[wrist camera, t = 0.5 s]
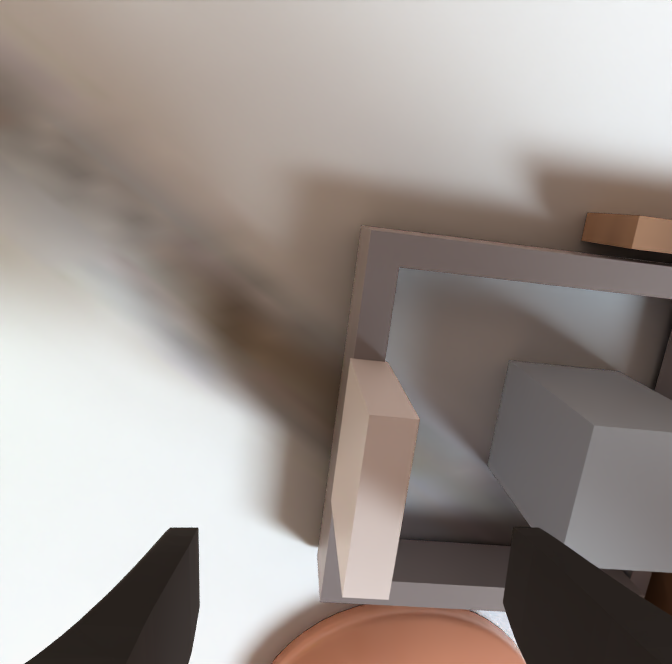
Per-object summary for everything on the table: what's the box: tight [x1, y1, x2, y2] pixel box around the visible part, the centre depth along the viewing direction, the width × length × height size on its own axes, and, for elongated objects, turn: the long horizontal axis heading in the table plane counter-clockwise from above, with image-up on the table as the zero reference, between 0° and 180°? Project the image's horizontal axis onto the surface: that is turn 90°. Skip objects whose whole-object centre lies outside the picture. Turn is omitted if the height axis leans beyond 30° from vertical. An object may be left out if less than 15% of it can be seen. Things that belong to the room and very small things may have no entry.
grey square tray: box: [317, 225, 672, 612], centre depth 17 cm, size 13×13×7 cm
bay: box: [581, 213, 672, 616], centre depth 20 cm, size 6×16×3 cm, turn 173°
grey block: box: [487, 360, 672, 573], centre depth 18 cm, size 4×4×6 cm
